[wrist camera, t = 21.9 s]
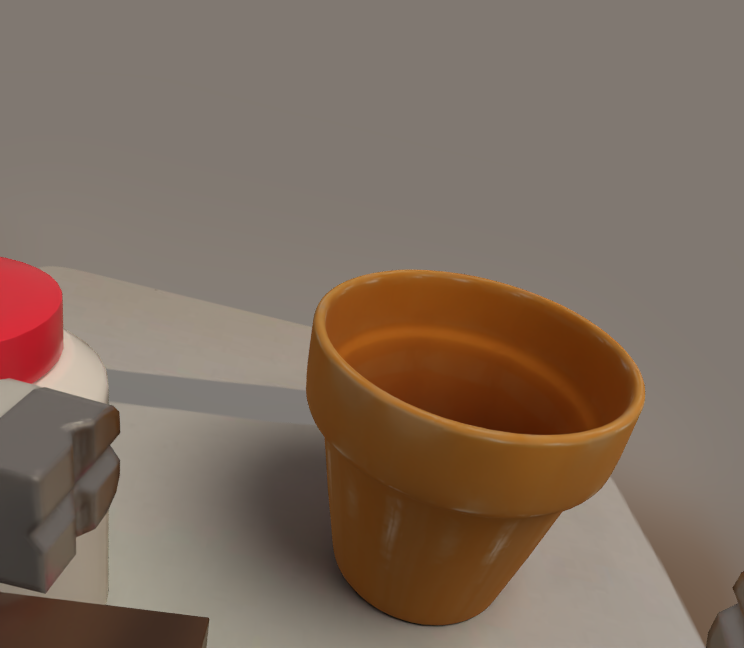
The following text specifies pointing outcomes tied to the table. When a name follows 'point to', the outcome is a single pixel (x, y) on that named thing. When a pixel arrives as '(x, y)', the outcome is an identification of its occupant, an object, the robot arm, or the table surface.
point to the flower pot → (458, 431)
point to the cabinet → (93, 625)
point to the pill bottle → (62, 373)
